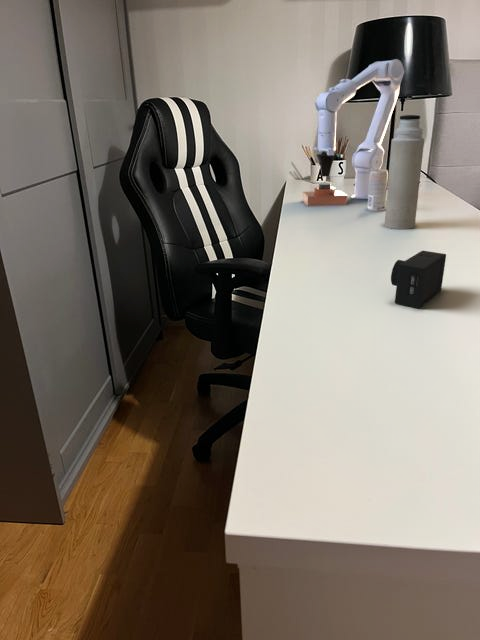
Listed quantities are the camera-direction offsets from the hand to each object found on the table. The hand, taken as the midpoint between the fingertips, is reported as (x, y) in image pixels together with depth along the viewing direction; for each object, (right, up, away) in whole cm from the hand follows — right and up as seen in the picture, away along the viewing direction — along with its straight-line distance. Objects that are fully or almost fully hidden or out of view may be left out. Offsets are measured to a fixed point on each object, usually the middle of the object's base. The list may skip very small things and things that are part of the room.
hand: (325, 176), depth 167 cm
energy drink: (+14, -14, -9) cm, 22 cm away
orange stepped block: (0, -8, +3) cm, 9 cm away
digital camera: (+2, -44, -80) cm, 91 cm away
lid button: (0, -4, +2) cm, 4 cm away
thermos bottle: (+15, -23, -30) cm, 41 cm away
